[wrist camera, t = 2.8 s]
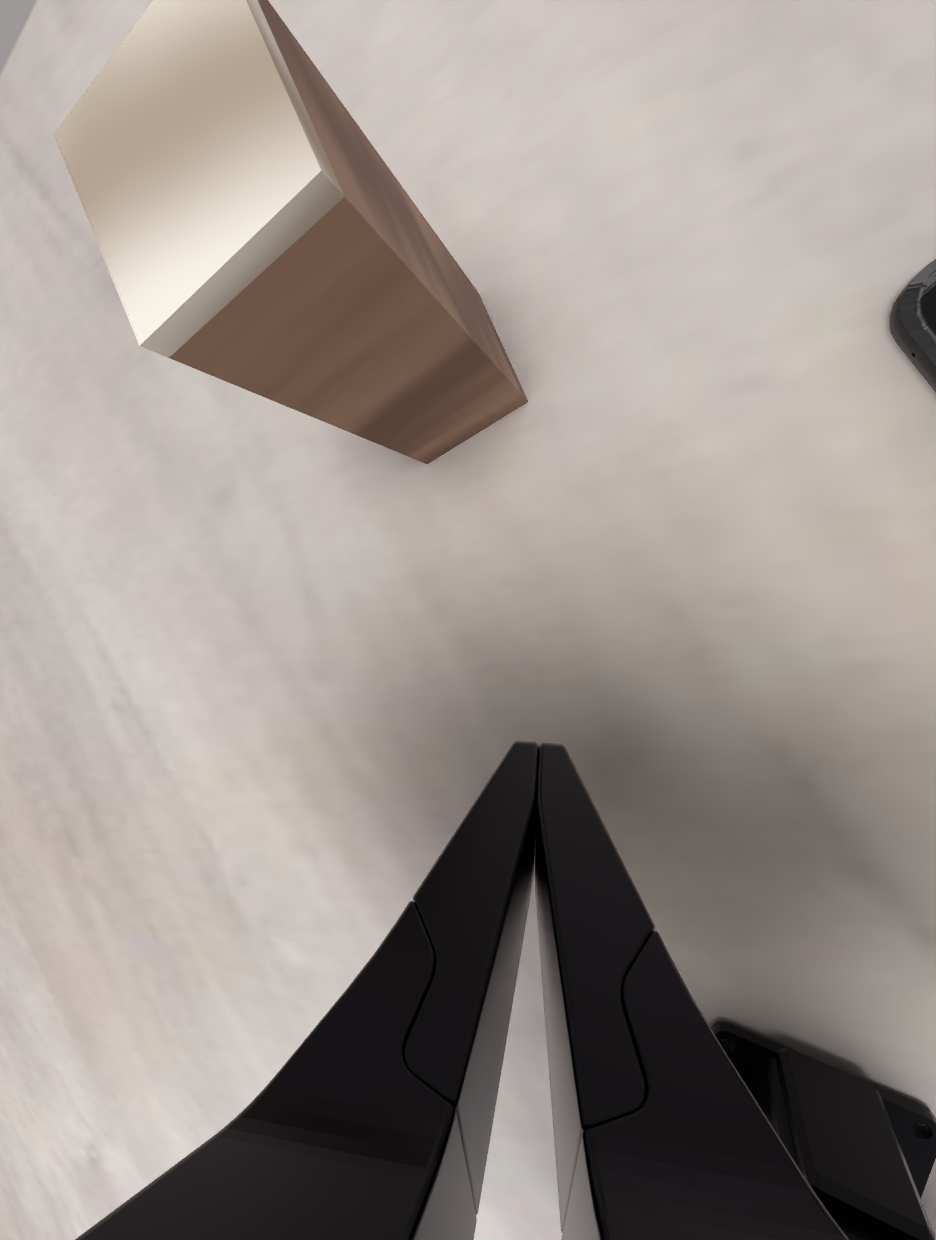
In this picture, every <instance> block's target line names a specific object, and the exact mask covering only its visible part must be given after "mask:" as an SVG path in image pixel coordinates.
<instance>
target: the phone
mask: <svg viewBox="0 0 936 1240" xmlns="http://www.w3.org/2000/svg"><path fill="white" fill-rule="evenodd" d="M890 330H891V333H892V335H893V337H894V339H895V341H896V342H897V344H898V345H899V346H900V347H901V349H902V350H903V351H904V353H905V354H906V355H907V356H908V358H909V359H910V360H911V361H912V363H913V364H914V365H915V366H916V368H917V369H918V370H919V371H920V373H921V374H922V375H923V376H924V378H925V379H926V380H927V381H928V383H929V384H930V385H931V386H932V388H933V389H934V390H935V391H936V259H935V260H934V261H933V262H931V263H930V264H928V265H927V266H926V267H925V268H924V269H922V270H921V271H920V272H919V273H918V274H917V275H916V276H915V277H914V278H913V279H912V280H911V281H910V282H909V284H908V285H907V286H906V287H905V289H904V290H903V291H902V292H901V294H900V295H899V297H898V298H897V300H896V302H895V303H894V305H893V308H892V312H891V315H890ZM912 353H914V355H915V357H913V356H912Z"/></svg>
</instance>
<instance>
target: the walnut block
mask: <svg viewBox="0 0 936 1240" xmlns="http://www.w3.org/2000/svg"><path fill="white" fill-rule="evenodd" d="M54 137H55V139H56V142H57V144H58V147H59V149H60V152H61V154H62V156H63V159H64V161H65V164H66V166H67V169H68V171H69V174H70V176H71V179H72V181H73V183H74V186H75V188H76V191H77V193H78V196H79V198H80V201H81V203H82V206H83V208H84V210H85V213H86V215H87V218H88V220H89V223H90V225H91V228H92V230H93V233H94V235H95V237H96V240H97V242H98V245H99V247H100V250H101V252H102V255H103V257H104V260H105V262H106V264H107V267H108V269H109V272H110V274H111V277H112V279H113V282H114V284H115V287H116V289H117V292H118V294H119V296H120V299H121V301H122V304H123V306H124V309H125V311H126V314H127V316H128V319H129V321H130V323H131V326H132V328H133V331H134V333H135V336H136V338H137V341H138V343H139V346H141V347H144V348H146V349H149V350H151V351H154V352H156V353H158V354H161V355H163V356H166V357H168V358H171V359H173V360H175V361H178V362H180V363H183V364H185V365H188V366H190V367H192V368H195V369H197V370H200V371H202V372H205V373H207V374H210V375H212V376H214V377H217V378H219V379H222V380H224V381H227V382H229V383H231V384H234V385H236V386H239V387H241V388H244V389H246V390H248V391H251V392H253V393H256V394H258V395H261V396H263V397H265V398H268V399H270V400H273V401H275V402H278V403H280V404H282V405H285V406H287V407H290V408H292V409H295V410H297V411H299V412H302V413H304V414H307V415H309V416H312V417H314V418H317V419H319V420H321V421H324V422H326V423H329V424H331V425H334V426H336V427H338V428H341V429H343V430H346V431H348V432H351V433H353V434H355V435H358V436H360V437H363V438H365V439H368V440H370V441H372V442H375V443H377V444H380V445H382V446H385V447H387V448H389V449H392V450H394V451H397V452H399V453H402V454H404V455H406V456H409V457H411V458H414V459H416V460H419V461H421V462H424V463H426V464H428V463H429V462H431V461H433V460H434V459H436V458H438V457H439V456H441V455H442V454H444V453H446V452H447V451H449V450H450V449H452V448H454V447H455V446H457V445H459V444H460V443H462V442H463V441H465V440H467V439H468V438H470V437H472V436H473V435H475V434H476V433H478V432H480V431H481V430H483V429H484V428H486V427H488V426H489V425H491V424H493V423H494V422H496V421H497V420H499V419H501V418H502V417H504V416H505V415H507V414H509V413H510V412H512V411H514V410H515V409H517V408H518V407H520V406H522V405H523V404H525V403H526V402H528V401H527V398H526V396H525V394H524V392H523V390H522V387H521V385H520V383H519V381H518V379H517V376H516V374H515V372H514V370H513V368H512V365H511V363H510V361H509V359H508V357H507V354H506V352H505V350H504V348H503V346H502V344H501V341H500V339H499V337H498V335H497V333H496V330H495V328H494V326H493V324H492V322H491V319H490V317H489V315H488V313H487V311H486V308H485V306H484V304H483V302H482V300H481V297H480V295H479V293H478V292H477V290H476V289H475V287H474V286H473V285H472V283H471V282H470V280H469V279H468V278H467V276H466V275H465V274H464V272H463V271H462V269H461V268H460V267H459V265H458V264H457V262H456V261H455V260H454V258H453V257H452V255H451V254H450V253H449V251H448V250H447V249H446V247H445V246H444V244H443V243H442V242H441V240H440V239H439V237H438V236H437V235H436V233H435V232H434V230H433V229H432V228H431V226H430V225H429V224H428V222H427V221H426V219H425V218H424V217H423V215H422V214H421V212H420V211H419V210H418V208H417V207H416V205H415V204H414V203H413V201H412V200H411V198H410V197H409V196H408V194H407V193H406V192H405V190H404V189H403V187H402V186H401V185H400V183H399V182H398V180H397V179H396V178H395V176H394V175H393V173H392V172H391V171H390V169H389V168H388V167H387V165H386V164H385V162H384V161H383V160H382V158H381V157H380V155H379V154H378V153H377V151H376V150H375V148H374V147H373V146H372V144H371V143H370V142H369V140H368V139H367V137H366V136H365V135H364V133H363V132H362V130H361V129H360V128H359V126H358V125H357V123H356V122H355V121H354V119H353V118H352V116H351V115H350V114H349V112H348V111H347V110H346V108H345V107H344V105H343V104H342V103H341V101H340V100H339V98H338V97H337V96H336V94H335V93H334V91H333V90H332V89H331V87H330V86H329V85H328V83H327V82H326V80H325V79H324V78H323V76H322V75H321V73H320V72H319V71H318V69H317V68H316V66H315V65H314V64H313V62H312V61H311V60H310V58H309V57H308V55H307V54H306V53H305V51H304V50H303V48H302V47H301V46H300V44H299V43H298V41H297V40H296V39H295V37H294V36H293V35H292V33H291V32H290V30H289V29H288V28H287V26H286V25H285V23H284V22H283V21H282V19H281V18H280V16H279V15H278V14H277V12H276V11H275V9H274V8H273V7H272V5H271V4H270V3H269V1H268V0H153V1H152V3H151V4H150V5H149V7H148V8H147V9H146V11H145V12H144V13H143V15H142V16H141V17H140V19H139V20H138V21H137V23H136V24H135V26H134V27H133V28H132V30H131V31H130V32H129V34H128V35H127V36H126V38H125V39H124V40H123V42H122V43H121V44H120V46H119V47H118V48H117V50H116V51H115V52H114V54H113V55H112V56H111V58H110V59H109V60H108V62H107V63H106V65H105V66H104V67H103V69H102V70H101V71H100V73H99V74H98V75H97V77H96V78H95V79H94V81H93V82H92V83H91V85H90V86H89V87H88V89H87V90H86V91H85V93H84V94H83V95H82V97H81V98H80V99H79V101H78V102H77V104H76V105H75V106H74V108H73V109H72V110H71V112H70V113H69V114H68V116H67V117H66V118H65V120H64V121H63V122H62V124H61V125H60V126H59V128H58V129H57V130H56V132H55V133H54Z"/></svg>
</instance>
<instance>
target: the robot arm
mask: <svg viewBox="0 0 936 1240" xmlns="http://www.w3.org/2000/svg"><path fill="white" fill-rule="evenodd" d="M534 860H535V890H536V903H537V916H538V930H539V943H540V956H541V969H542V983H543V996H544V1009H545V1022H546V1036H547V1049H548V1062H549V1075H550V1088H551V1102H552V1115H553V1128H554V1141H555V1155H556V1168H557V1181H558V1194H559V1208H560V1221H561V1231H562V1233H563V1235H562V1240H935V1235H934V1232H933V1230H932V1227H931V1225H930V1222H929V1219H928V1217H927V1214H926V1212H925V1209H924V1207H923V1204H922V1201H921V1196H922V1193H923V1191H924V1188H925V1185H926V1182H927V1180H928V1177H929V1174H930V1172H931V1169H932V1166H933V1164H934V1161H935V1158H936V1118H935V1116H934V1115H933V1114H932V1112H931V1111H930V1110H929V1109H927V1108H925V1107H924V1106H922V1105H920V1104H917V1103H915V1102H913V1101H910V1100H908V1099H906V1098H903V1097H901V1096H899V1095H896V1094H894V1093H892V1092H889V1091H887V1090H885V1089H882V1088H880V1087H878V1086H875V1085H873V1084H871V1083H868V1082H866V1081H864V1080H861V1079H859V1078H857V1077H854V1076H852V1075H850V1074H847V1073H845V1072H843V1071H840V1070H838V1069H836V1068H833V1067H831V1066H829V1065H826V1064H824V1063H822V1062H819V1061H817V1060H815V1059H812V1058H810V1057H808V1056H805V1055H803V1054H801V1053H798V1052H796V1051H794V1050H791V1049H789V1048H787V1047H784V1046H782V1045H780V1044H777V1043H775V1042H773V1041H770V1040H768V1039H766V1038H763V1037H761V1036H759V1035H756V1034H754V1033H752V1032H749V1031H747V1030H745V1029H742V1028H740V1027H738V1026H735V1025H733V1024H731V1023H727V1022H718V1023H716V1024H714V1025H713V1027H712V1029H711V1028H710V1026H709V1025H708V1023H707V1021H706V1020H705V1018H704V1016H703V1015H702V1013H701V1011H700V1010H699V1008H698V1006H697V1005H696V1003H695V1001H694V1000H693V998H692V996H691V994H690V992H689V990H688V989H687V987H686V985H685V983H684V981H683V979H682V977H681V976H680V974H679V972H678V970H677V968H676V966H675V964H674V962H673V961H672V959H671V957H670V955H669V953H668V951H667V949H666V947H665V945H664V943H663V941H662V939H661V937H660V935H659V933H658V932H657V931H654V929H655V925H654V923H653V921H652V919H651V917H650V915H649V913H648V911H647V909H646V907H645V905H644V903H643V901H642V899H641V897H640V895H639V893H638V891H637V889H636V887H635V885H634V883H633V881H632V879H631V877H630V876H629V874H628V872H627V870H626V868H625V866H624V864H623V862H622V860H621V858H620V856H619V854H618V852H617V850H616V848H615V846H614V844H613V842H612V840H611V838H610V836H609V834H608V832H607V830H606V828H605V826H604V824H603V822H602V820H601V818H600V816H599V814H598V812H597V810H596V808H595V806H594V804H593V802H592V800H591V798H590V796H589V794H588V792H587V790H586V788H585V786H584V784H583V782H582V780H581V778H580V776H579V774H578V772H577V770H576V768H575V766H574V764H573V762H572V760H571V758H570V756H569V754H568V752H567V750H566V748H565V747H564V746H563V745H562V744H552V743H542V744H540V746H539V745H538V744H537V743H536V742H524V741H516V742H514V743H513V745H512V746H511V748H510V749H509V751H508V752H507V754H506V755H505V757H504V758H503V760H502V761H501V763H500V764H499V766H498V767H497V769H496V771H495V772H494V774H493V775H492V777H491V778H490V780H489V781H488V783H487V784H486V786H485V787H484V789H483V790H482V792H481V794H480V795H479V797H478V798H477V800H476V801H475V803H474V804H473V806H472V807H471V809H470V810H469V812H468V813H467V815H466V817H465V818H464V820H463V821H462V823H461V824H460V826H459V827H458V829H457V830H456V832H455V833H454V835H453V836H452V838H451V840H450V841H449V843H448V844H447V846H446V847H445V849H444V850H443V852H442V853H441V855H440V856H439V858H438V859H437V861H436V863H435V864H434V866H433V867H432V869H431V870H430V872H429V873H428V875H427V876H426V878H425V879H424V881H423V882H422V884H421V886H420V887H419V889H418V890H417V892H416V893H415V895H414V896H413V901H414V902H413V901H410V902H409V904H408V905H407V907H406V908H405V910H404V911H403V913H402V914H401V916H400V917H399V919H398V920H397V922H396V923H395V925H394V926H393V928H392V929H391V931H390V932H389V933H388V935H387V936H386V938H385V939H384V941H383V942H382V944H381V945H380V946H379V948H378V949H377V951H376V952H375V954H374V955H373V956H372V958H371V959H370V960H369V961H368V963H367V964H366V965H365V967H364V968H363V969H362V970H361V972H360V973H359V974H358V975H357V977H356V978H355V979H354V981H353V982H352V983H351V984H350V986H349V987H348V988H347V990H346V991H345V992H344V993H343V994H342V996H341V997H340V998H339V999H338V1000H337V1002H336V1003H335V1004H334V1005H333V1007H332V1008H331V1009H330V1010H329V1011H328V1013H327V1014H326V1015H325V1016H324V1017H323V1019H322V1020H321V1021H320V1022H319V1024H318V1025H317V1026H316V1027H315V1028H314V1030H313V1031H312V1032H311V1033H310V1034H309V1036H308V1037H307V1038H306V1039H305V1041H304V1042H303V1043H302V1044H301V1045H300V1047H299V1048H298V1049H297V1050H296V1051H295V1053H294V1054H293V1055H292V1056H291V1058H290V1059H289V1060H288V1061H287V1062H286V1064H285V1065H284V1066H283V1067H282V1068H281V1070H280V1071H279V1072H278V1073H277V1074H276V1076H275V1077H274V1078H273V1079H272V1080H271V1081H270V1083H269V1084H268V1085H267V1086H266V1087H265V1088H264V1090H263V1091H262V1092H261V1093H260V1094H259V1095H258V1096H257V1097H256V1098H255V1099H254V1100H253V1101H252V1102H251V1103H250V1104H249V1105H248V1106H247V1107H246V1108H245V1109H244V1110H243V1111H242V1112H241V1113H240V1114H239V1115H238V1116H237V1117H236V1118H235V1119H234V1120H232V1121H231V1122H230V1123H229V1124H228V1125H227V1126H225V1127H224V1128H223V1129H222V1130H221V1131H219V1132H218V1133H217V1134H216V1135H214V1136H213V1137H212V1138H210V1139H209V1140H208V1141H206V1142H205V1143H204V1144H202V1145H201V1146H200V1147H198V1148H197V1149H196V1150H194V1151H193V1152H192V1153H190V1154H189V1155H188V1156H186V1157H185V1158H184V1159H182V1160H181V1161H180V1162H178V1163H177V1164H176V1165H174V1166H173V1167H172V1168H170V1169H169V1170H168V1171H166V1172H165V1173H164V1174H162V1175H161V1176H160V1177H158V1178H157V1179H156V1180H154V1181H153V1182H152V1183H150V1184H149V1185H148V1186H146V1187H145V1188H144V1189H142V1190H141V1191H139V1192H138V1193H137V1194H135V1195H134V1196H133V1197H131V1198H130V1199H129V1200H127V1201H126V1202H125V1203H123V1204H122V1205H121V1206H119V1207H118V1208H117V1209H115V1210H114V1211H113V1212H111V1213H110V1214H109V1215H107V1216H106V1217H105V1218H103V1219H102V1220H101V1221H99V1222H98V1223H97V1224H95V1225H94V1226H93V1227H91V1228H90V1229H89V1230H87V1231H86V1232H85V1233H83V1234H82V1235H81V1236H79V1237H78V1238H77V1239H75V1240H473V1239H474V1233H475V1227H476V1215H477V1213H478V1208H479V1202H480V1196H481V1190H482V1184H483V1178H484V1172H485V1166H486V1160H487V1154H488V1148H489V1142H490V1136H491V1130H492V1124H493V1118H494V1112H495V1106H496V1100H497V1094H498V1088H499V1081H500V1075H501V1069H502V1063H503V1057H504V1051H505V1045H506V1039H507V1033H508V1027H509V1021H510V1015H511V1009H512V1003H513V997H514V991H515V985H516V979H517V973H518V967H519V961H520V955H521V949H522V943H523V937H524V931H525V925H526V919H527V913H528V907H529V901H530V895H531V889H532V881H533V874H534ZM723 1038H729V1039H731V1040H732V1041H733V1042H730V1043H729V1042H725V1041H723V1040H722V1039H723ZM916 1123H922V1124H925V1125H924V1126H916V1125H914V1124H916Z"/></svg>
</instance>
